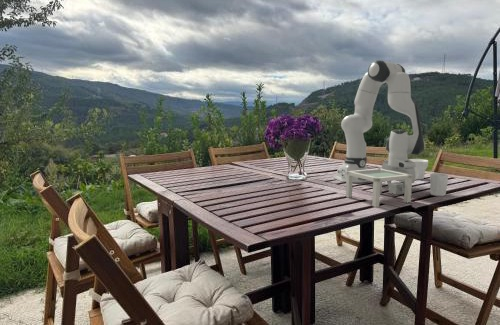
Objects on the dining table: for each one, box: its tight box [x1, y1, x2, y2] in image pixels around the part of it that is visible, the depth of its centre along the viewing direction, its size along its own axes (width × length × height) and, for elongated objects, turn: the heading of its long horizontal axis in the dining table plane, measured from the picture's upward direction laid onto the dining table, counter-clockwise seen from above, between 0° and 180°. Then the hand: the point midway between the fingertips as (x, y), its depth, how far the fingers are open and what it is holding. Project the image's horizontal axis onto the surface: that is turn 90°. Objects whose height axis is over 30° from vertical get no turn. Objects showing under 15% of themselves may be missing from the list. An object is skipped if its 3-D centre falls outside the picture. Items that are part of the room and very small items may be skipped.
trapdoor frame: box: [345, 167, 413, 208], centre depth 175 cm, size 21×20×13 cm
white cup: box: [429, 172, 449, 197], centre depth 185 cm, size 8×8×10 cm
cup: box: [408, 158, 429, 180], centre depth 227 cm, size 12×12×11 cm
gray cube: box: [388, 181, 405, 196], centre depth 189 cm, size 5×5×5 cm
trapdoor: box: [358, 171, 397, 181], centre depth 175 cm, size 14×14×3 cm
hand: (396, 189), depth 189 cm, fingers open, 7 cm apart
